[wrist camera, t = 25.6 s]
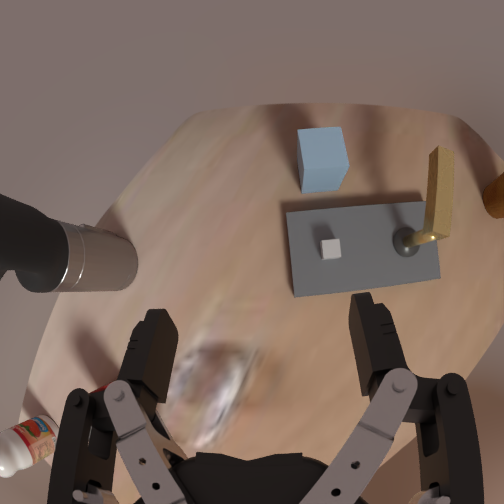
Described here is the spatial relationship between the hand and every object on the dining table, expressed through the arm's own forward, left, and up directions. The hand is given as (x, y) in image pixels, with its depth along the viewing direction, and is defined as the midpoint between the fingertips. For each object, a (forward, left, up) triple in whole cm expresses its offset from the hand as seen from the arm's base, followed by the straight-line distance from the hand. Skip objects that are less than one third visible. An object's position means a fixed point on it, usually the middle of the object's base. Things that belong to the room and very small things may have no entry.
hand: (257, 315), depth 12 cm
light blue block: (-10, +16, -31) cm, 36 cm away
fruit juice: (-6, -64, -31) cm, 71 cm away
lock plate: (+4, +14, -31) cm, 34 cm away
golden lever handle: (+4, +23, -28) cm, 36 cm away
